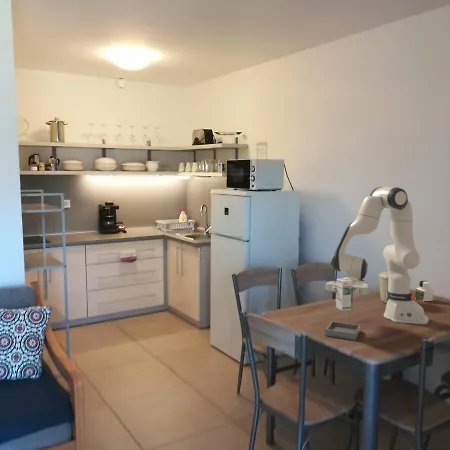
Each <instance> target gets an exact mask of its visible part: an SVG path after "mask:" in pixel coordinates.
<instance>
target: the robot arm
mask: <svg viewBox="0 0 450 450" xmlns="http://www.w3.org/2000/svg"><path fill="white" fill-rule="evenodd" d="M384 209H389V211H390V215H389V216H390V218H389V219H390V220H389V221H390V222H389V234H390V237H391V239H392V242H393V244H387V245H386V246H385V247H384V249H383V252H382V255H383V258H384V259H385V263H386V269H387V271H388V276H389V281H388V291H387V303H386V306H385V310H384V313H383V317H384V318H385V319H388V320H391V321H392V322H394V323H401V324H402V323H403V324H405V323H406V324H415V325H426V324H428V323H429V320H430V319H429V317H428V316H427V315H425V311H424V308H423V307H422V305H420V304H419V303H418V302H417V301H415V294H414V293H412V292H411V283H412V282H411V276H410V274H409V271H408V269H409V270H412V269H415V268H417V267H418V266H419V264H420V262H421V257H420V254H419V253H418V250H417V248H416V244H415V240H414V235H413V231H414V230H413V226H414V225H413V207H412V203H411V202H410V201H409V199H408V194H407V192H406V190H404V189H403V188H400V187H394V186H379V187H375V188H374V189H373V190H372V191H371V192H370V194H369V195H368V196H366V197H364V198H363V201H362V203H361V204H360V207H359V210H358V214H357V217H356V218H355V220H354V221H353V222H350V223H349V224H348V225H347V227H346V229H345V231H344V233H343V234H342V237H341V239H340V241H339V243H338V245H337V247H336V250H335V252H334V253H333V254H332V256H331V259H330V263H329V265H330V267H331V268H332V269H333V270H334V272H335V271H336V272H340V273H345V274H346V275H345V276H344V277H343V278H349V279H351V280H353V295H364V296H368V295H369V284H368V281H367V280H365V278H366V276H367V273H368V261H366V259H365V258H363V257H360V256H357V255H352V254H350V253H349V254H348V253H346V251H345V250H346V249H347V247H348V245H349V243H350V240H351V239H352V238H353V237H355V236H362V235H368V234H371V233H373V232H375V231H376V230H377V229H378V226H379V223H380V220H381V216H382V213H383V210H384ZM325 290H326V291H327V292H332V293H336V291H337V280H336V281H334V280H332V281H331V280H330V281H328V282H326V283H325Z"/></svg>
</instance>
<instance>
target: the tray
mask: <svg viewBox="0 0 450 450" xmlns="http://www.w3.org/2000/svg"><path fill="white" fill-rule="evenodd" d="M360 332H361V325H360V324H354V323H346V322H339V321H335V320H334V321H330V323H329V324H328V325H327V327H326V329H325V332H324V333H325V334H324V335H325V336H326V337H332V338H339V339H344V338H345V340H352V341H356V340H357V338H358V336H359V334H360Z"/></svg>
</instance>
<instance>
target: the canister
mask: <svg viewBox="0 0 450 450" xmlns="http://www.w3.org/2000/svg"><path fill="white" fill-rule="evenodd" d="M377 277H378V280H379V294H380V300H381V302H383V303H385V304H387V291H388V281H389V276H388V270H387V271H381V272H380V273H378V274H377Z"/></svg>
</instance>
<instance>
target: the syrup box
mask: <svg viewBox="0 0 450 450" xmlns="http://www.w3.org/2000/svg"><path fill="white" fill-rule="evenodd" d="M336 282H337V291H336V292H335V293H336V294H335V295H336V296H335V297H336V299H335V308H336V309H338V310H340V311H341V312H342V311H352V310H353V303H354V302H353V301H354V300H353V299H354V298H353V297H354V294H353V280H351V279H349V278H344V277H343V278H336Z"/></svg>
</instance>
